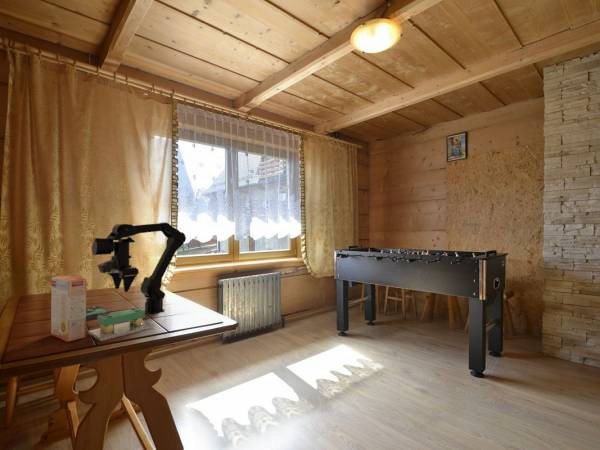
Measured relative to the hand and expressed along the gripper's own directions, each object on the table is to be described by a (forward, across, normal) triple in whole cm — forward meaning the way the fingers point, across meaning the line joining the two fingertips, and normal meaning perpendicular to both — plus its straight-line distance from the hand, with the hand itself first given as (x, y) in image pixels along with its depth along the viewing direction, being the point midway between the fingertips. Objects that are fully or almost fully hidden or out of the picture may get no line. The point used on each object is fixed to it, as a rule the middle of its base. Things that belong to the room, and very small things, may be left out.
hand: (121, 290), depth 129 cm
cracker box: (+12, +8, -20) cm, 25 cm away
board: (+8, +16, -6) cm, 19 cm away
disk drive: (+13, -16, -6) cm, 22 cm away
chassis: (+12, +16, -6) cm, 21 cm away
